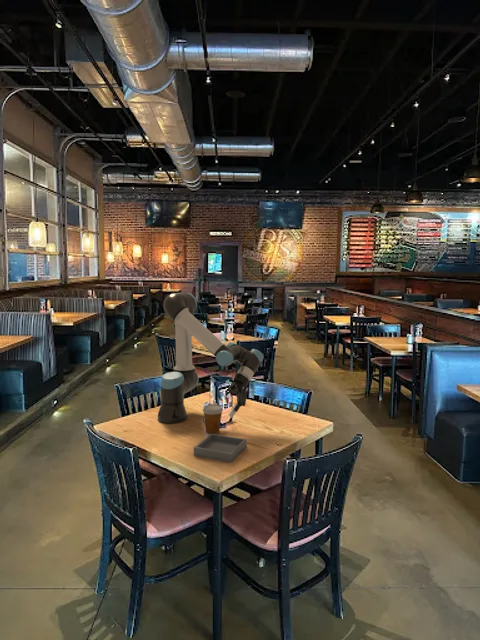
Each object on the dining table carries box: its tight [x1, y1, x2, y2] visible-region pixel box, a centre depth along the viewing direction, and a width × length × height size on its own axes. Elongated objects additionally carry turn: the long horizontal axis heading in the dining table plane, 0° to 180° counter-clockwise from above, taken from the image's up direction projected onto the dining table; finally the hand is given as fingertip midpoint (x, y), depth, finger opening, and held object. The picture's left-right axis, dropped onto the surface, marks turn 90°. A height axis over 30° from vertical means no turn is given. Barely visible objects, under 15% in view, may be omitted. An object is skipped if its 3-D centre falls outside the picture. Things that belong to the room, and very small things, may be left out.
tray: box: [193, 433, 248, 464], centre depth 186 cm, size 17×17×4 cm
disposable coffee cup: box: [202, 404, 223, 435], centre depth 208 cm, size 10×10×12 cm
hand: (220, 412), depth 210 cm, fingers open, 13 cm apart
